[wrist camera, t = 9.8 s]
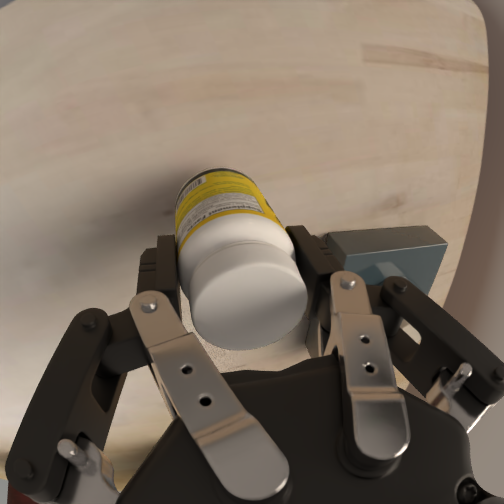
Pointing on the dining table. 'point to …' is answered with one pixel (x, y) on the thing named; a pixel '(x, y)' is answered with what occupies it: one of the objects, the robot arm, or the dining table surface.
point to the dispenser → (385, 259)
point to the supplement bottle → (235, 262)
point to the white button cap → (410, 331)
